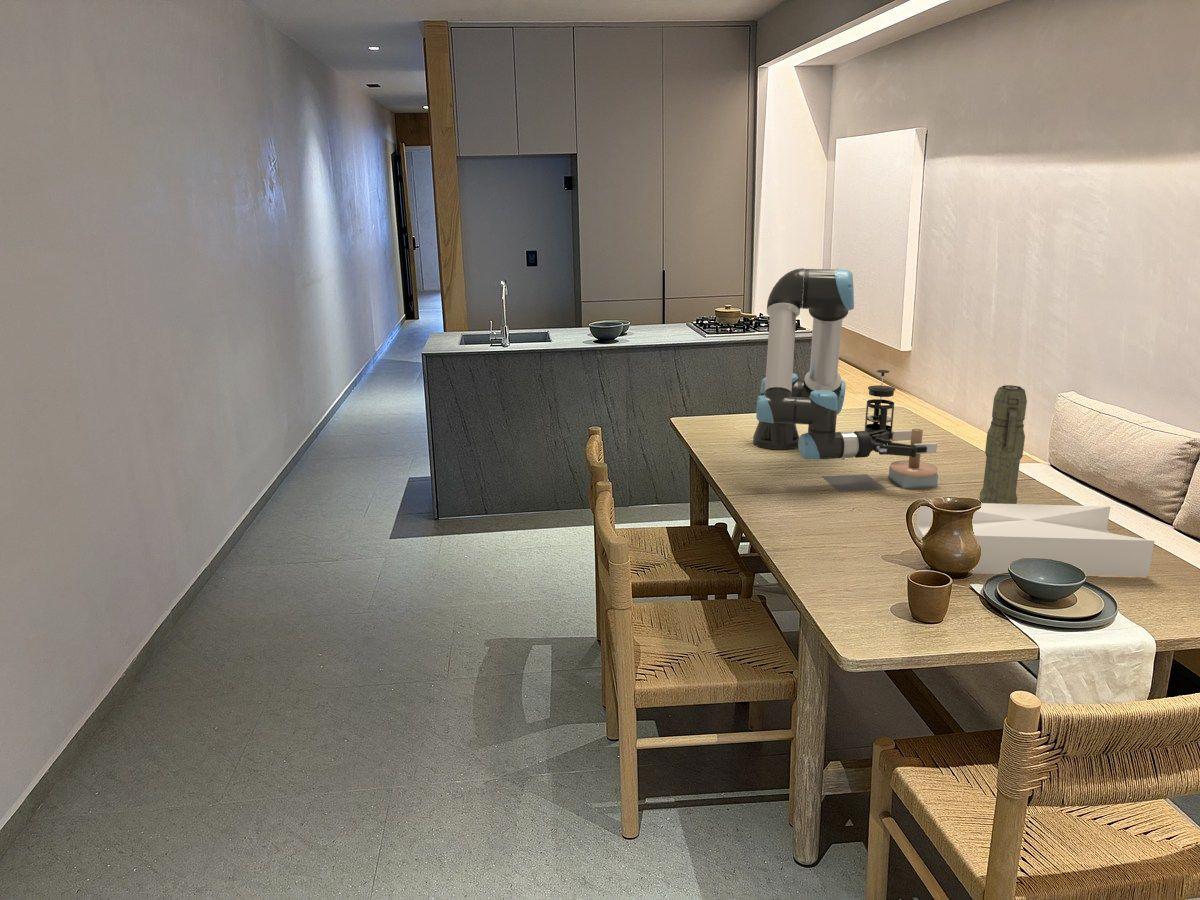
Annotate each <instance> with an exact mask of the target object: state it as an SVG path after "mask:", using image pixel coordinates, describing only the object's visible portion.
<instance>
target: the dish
mask: <svg viewBox="0 0 1200 900" xmlns="http://www.w3.org/2000/svg"><path fill="white" fill-rule="evenodd" d="M888 468H889V470H888V478H889V479H890V480H891V481H892V482H894V483H895V484H896V485H898V486H899V487H901V488H902V489H905V490H906V489H921V488H922V489H923V488H936V487H937V488H938V480H939V474H938V473H937V474H936V475H934V476H930V477H909V476H904V475H900V474H897V473H894V472H892V471H891V470H890V466H889V467H888Z"/></svg>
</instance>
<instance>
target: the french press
mask: <svg viewBox="0 0 1200 900" xmlns="http://www.w3.org/2000/svg"><path fill="white" fill-rule="evenodd" d="M890 372H891V371H890V370H887V369H878V370H876V373H880V375H881V385H879V384H878V385H869V386H868V387H867V389H868V394H869V396H872V397H877V398H876V399H875V398H874V399H868V400H866V407H865V419H864V431H867V432H868V433H870V432H874V431H879V430H883V429H886V430H887V431H888V428H891V429H892V430H893V424H894V411H895V402H894V401H892V400H889V399H882V398H889V397H890V398H891V397H894V393H895V391H896V388H895V387H894V386H889V385H883V384H884V383H883V382H884V377H885V374H889V373H890ZM878 397H879V399H878ZM883 404H884V405H883ZM869 408H870V409H873V414H872V415H868V413H869ZM888 410H891V416H888ZM868 421H869V422H872V423H868ZM887 423H890V425H889V424H887Z"/></svg>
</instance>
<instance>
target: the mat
mask: <svg viewBox="0 0 1200 900" xmlns="http://www.w3.org/2000/svg"><path fill="white" fill-rule="evenodd" d="M821 478H822V479H824V480H825V481H826V482H827V483H828V484H830V485H831V486H832V487H833V488H834V489H835V490H836V491H837V492H840V493H843V492H861V491H862V492H863V491H881V490H882V491H883V490H884V491H885V490H887V488H886V487H884V486H883V485H882V484H881V483H879V482H878V481H877V480H875V479H874V478H873V477H871V476H870V475H868V473H863V474H845V475H843V474H841V475H825V476H821Z"/></svg>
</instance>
